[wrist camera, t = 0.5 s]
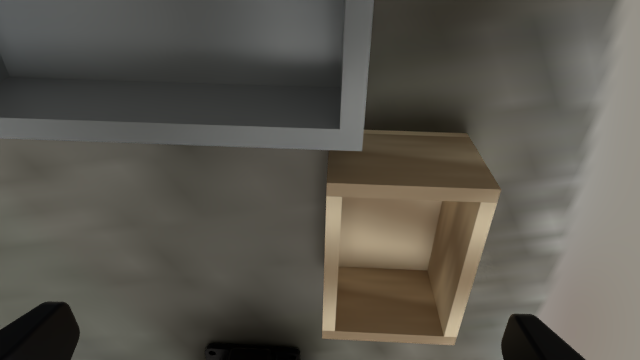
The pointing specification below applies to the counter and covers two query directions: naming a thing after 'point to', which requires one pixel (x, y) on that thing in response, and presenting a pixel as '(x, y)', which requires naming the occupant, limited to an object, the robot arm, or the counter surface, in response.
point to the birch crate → (404, 236)
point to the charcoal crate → (186, 72)
